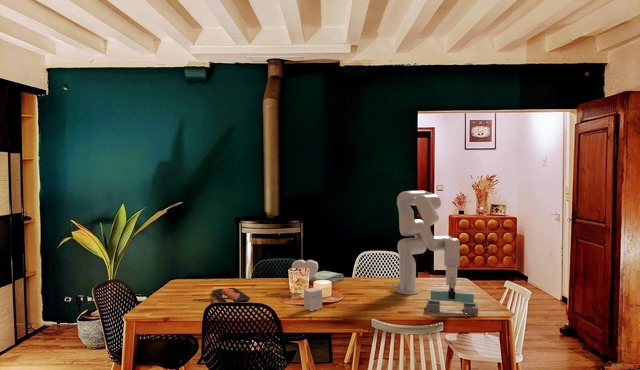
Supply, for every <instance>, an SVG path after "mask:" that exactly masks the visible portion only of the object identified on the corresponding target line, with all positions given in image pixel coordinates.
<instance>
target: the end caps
mask: <svg viewBox="0 0 640 370" xmlns="http://www.w3.org/2000/svg"><path fill="white" fill-rule="evenodd" d="M440 302H441V300H431V299H426V306H425V307H426V308H425V309H426V310H425V311H426V312H427V311H432V312H431V313H440V309H441V307H440V305H441V303H440ZM463 313H467V314H466V315H469V314H478V315H479V306H478V303H477V302H473V303H464V302H463Z"/></svg>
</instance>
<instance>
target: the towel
mask: <svg viewBox="0 0 640 370" xmlns="http://www.w3.org/2000/svg"><path fill="white" fill-rule="evenodd" d="M344 278H345V276H344V274H343V273H337V272H333V271H329V270H328V271H327V270H322V271H317V272H316V274H315V275H314V276H313V277H312V278H311V279H310V282H309V283H311V284H314V283H313V282H314V281H316V280H330V281H331V282H332V283H331V284H333V283H334V282H335V283H337V282H342V280H344Z"/></svg>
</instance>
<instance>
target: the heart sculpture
mask: <svg viewBox="0 0 640 370" xmlns="http://www.w3.org/2000/svg"><path fill="white" fill-rule="evenodd" d="M301 267H304V268H308V269H310V279H311V278H312V277H313V276H314V275H315V274H316V272H319V271H318V270H319V264H318V261H315V260H313V259H308V260H304V259H298V260H295V261H293V262H292V264H291V269H292V268H301Z"/></svg>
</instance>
